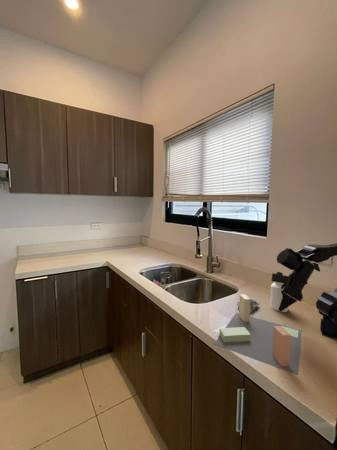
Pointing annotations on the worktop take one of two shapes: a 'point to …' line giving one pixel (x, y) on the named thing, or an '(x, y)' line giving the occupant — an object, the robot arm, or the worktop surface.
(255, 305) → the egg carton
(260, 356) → the mat
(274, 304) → the pill bottle
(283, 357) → the terracotta tile
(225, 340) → the sage tile
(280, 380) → the worktop surface
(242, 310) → the sand tile
